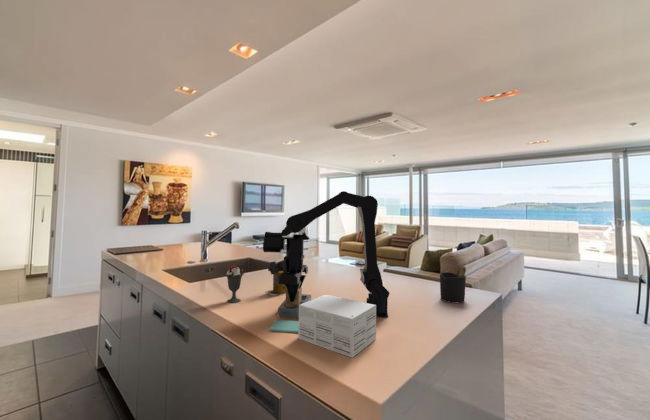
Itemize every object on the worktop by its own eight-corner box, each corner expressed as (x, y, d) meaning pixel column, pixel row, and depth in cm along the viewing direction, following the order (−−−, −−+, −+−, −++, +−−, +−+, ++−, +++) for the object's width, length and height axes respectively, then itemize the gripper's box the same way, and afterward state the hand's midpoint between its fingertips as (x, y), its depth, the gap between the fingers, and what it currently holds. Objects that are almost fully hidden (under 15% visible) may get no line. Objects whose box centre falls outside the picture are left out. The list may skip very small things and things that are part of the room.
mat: (305, 323, 84) (305, 321, 84) (300, 333, 77) (300, 331, 77) (276, 321, 85) (276, 319, 85) (268, 330, 78) (269, 329, 78)
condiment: (291, 293, 115) (291, 264, 115) (272, 296, 111) (272, 266, 111) (283, 289, 121) (284, 261, 122) (265, 291, 117) (265, 263, 117)
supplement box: (376, 339, 74) (377, 304, 74) (352, 359, 64) (353, 318, 64) (326, 323, 84) (326, 292, 84) (297, 339, 74) (298, 303, 74)
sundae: (220, 302, 102) (221, 261, 102) (232, 297, 108) (233, 259, 108) (234, 304, 99) (235, 263, 99) (246, 299, 105) (247, 260, 106)
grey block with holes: (311, 302, 103) (311, 294, 103) (302, 318, 87) (302, 309, 87) (290, 301, 104) (290, 293, 104) (278, 317, 88) (278, 307, 88)
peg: (301, 311, 94) (301, 287, 94) (298, 315, 90) (298, 291, 90) (288, 310, 95) (289, 287, 95) (285, 315, 90) (285, 290, 90)
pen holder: (461, 297, 114) (461, 273, 114) (468, 304, 105) (469, 278, 105) (437, 295, 116) (437, 271, 116) (442, 302, 107) (443, 276, 107)
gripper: (279, 248, 103) (278, 290, 102) (262, 255, 84) (260, 307, 84) (308, 249, 101) (307, 292, 101) (297, 257, 83) (296, 309, 83)
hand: (293, 299), depth 92 cm, fingers closed on peg, 4 cm apart
